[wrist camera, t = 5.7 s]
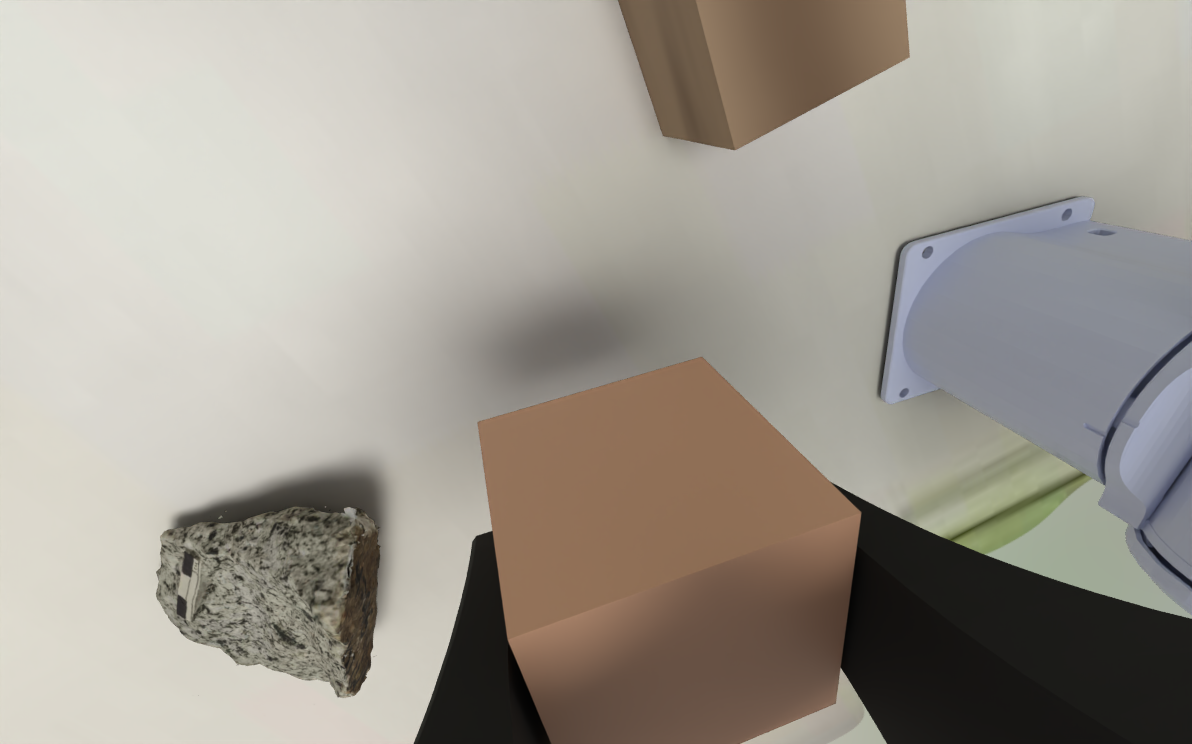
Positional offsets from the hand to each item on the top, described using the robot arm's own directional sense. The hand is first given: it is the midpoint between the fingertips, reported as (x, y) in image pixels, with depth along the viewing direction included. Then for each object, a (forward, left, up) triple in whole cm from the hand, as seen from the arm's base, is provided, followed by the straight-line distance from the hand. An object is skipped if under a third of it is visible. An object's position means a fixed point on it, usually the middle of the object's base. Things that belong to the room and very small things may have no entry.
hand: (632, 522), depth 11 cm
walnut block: (-7, -9, -10) cm, 15 cm away
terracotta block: (0, 0, -2) cm, 2 cm away
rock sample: (+13, +7, -10) cm, 18 cm away
